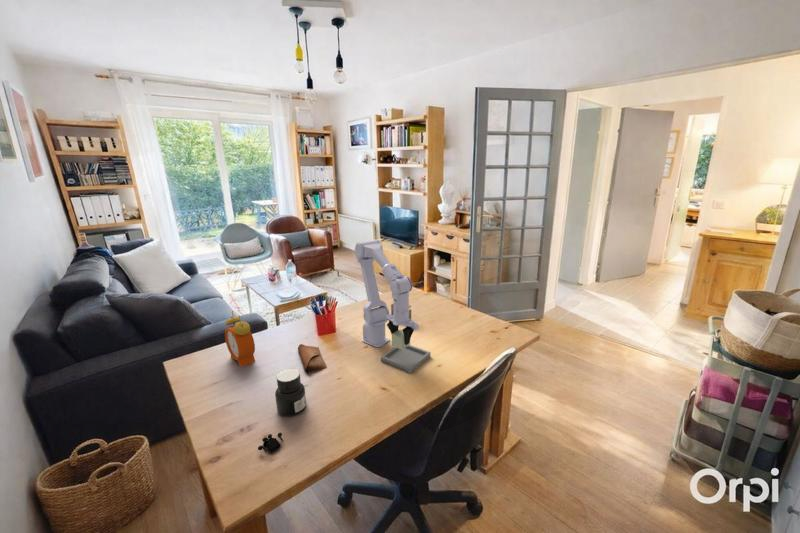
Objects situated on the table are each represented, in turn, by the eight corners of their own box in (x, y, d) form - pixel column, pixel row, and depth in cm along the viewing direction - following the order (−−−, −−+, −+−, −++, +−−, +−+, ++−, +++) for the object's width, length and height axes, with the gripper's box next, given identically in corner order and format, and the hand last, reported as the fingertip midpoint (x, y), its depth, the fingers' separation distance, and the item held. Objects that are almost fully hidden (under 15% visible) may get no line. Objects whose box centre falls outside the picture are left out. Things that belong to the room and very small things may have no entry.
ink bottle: (304, 416, 104) (301, 383, 101) (274, 420, 103) (270, 386, 100) (307, 396, 114) (304, 364, 110) (280, 399, 112) (276, 367, 109)
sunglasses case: (328, 368, 129) (318, 356, 126) (313, 380, 127) (302, 369, 124) (318, 346, 145) (309, 335, 142) (304, 357, 143) (294, 346, 140)
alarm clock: (227, 356, 137) (219, 310, 131) (242, 350, 142) (236, 305, 136) (241, 369, 129) (234, 320, 123) (257, 362, 133) (251, 315, 127)
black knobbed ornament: (264, 456, 89) (254, 442, 91) (264, 462, 90) (253, 448, 93) (288, 440, 94) (277, 427, 97) (287, 445, 96) (276, 432, 98)
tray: (380, 361, 134) (380, 356, 133) (401, 346, 144) (401, 342, 144) (410, 373, 126) (410, 368, 125) (430, 356, 136) (430, 352, 136)
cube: (391, 345, 131) (391, 334, 130) (399, 340, 135) (399, 329, 134) (402, 349, 128) (402, 337, 127) (410, 344, 132) (410, 332, 131)
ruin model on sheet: (411, 323, 166) (412, 305, 163) (407, 325, 164) (407, 307, 161) (395, 316, 173) (395, 298, 170) (391, 318, 171) (391, 300, 168)
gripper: (379, 307, 128) (379, 340, 132) (410, 317, 120) (410, 351, 124) (390, 301, 134) (391, 333, 138) (422, 310, 126) (421, 344, 130)
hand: (401, 341), depth 131 cm, fingers closed on cube, 5 cm apart
